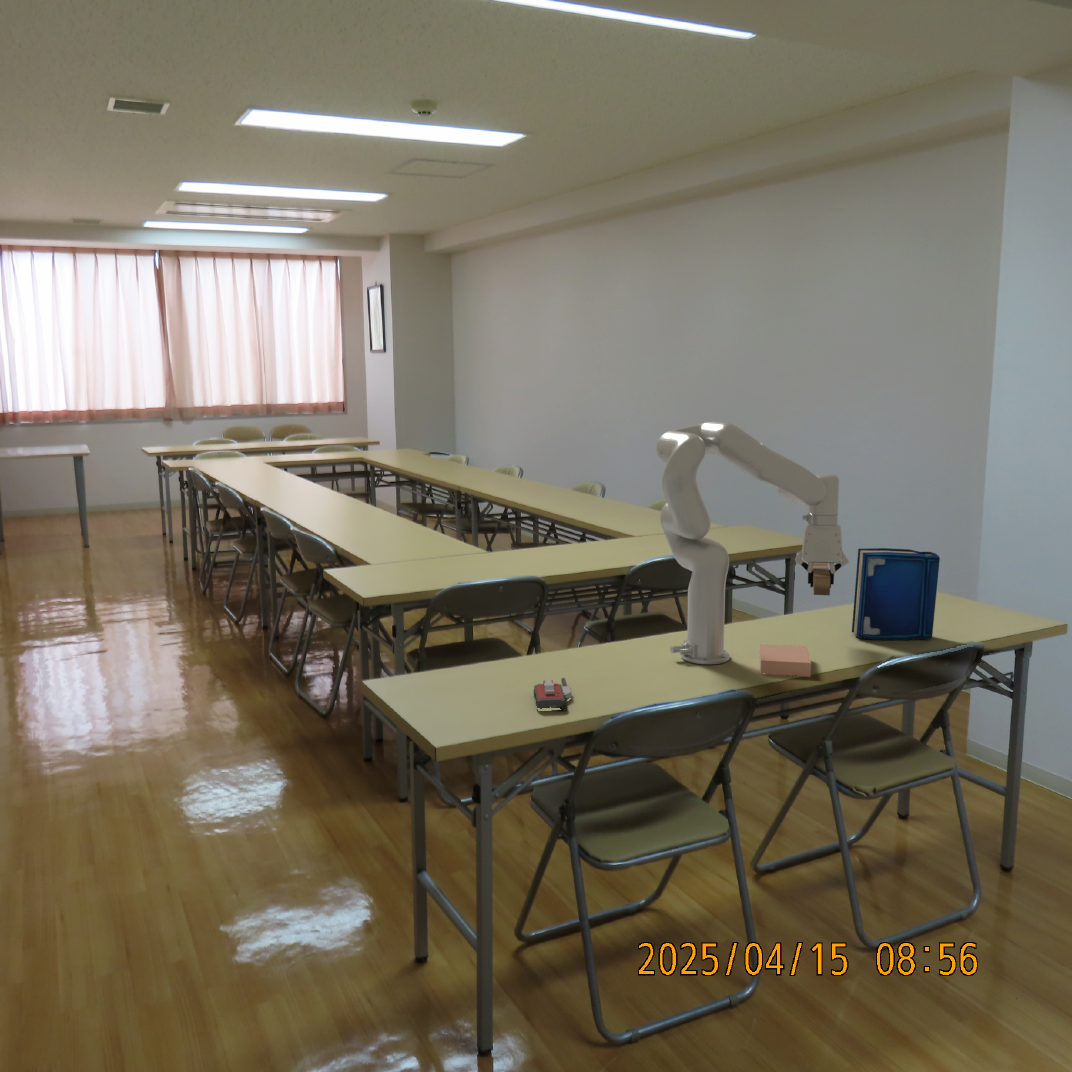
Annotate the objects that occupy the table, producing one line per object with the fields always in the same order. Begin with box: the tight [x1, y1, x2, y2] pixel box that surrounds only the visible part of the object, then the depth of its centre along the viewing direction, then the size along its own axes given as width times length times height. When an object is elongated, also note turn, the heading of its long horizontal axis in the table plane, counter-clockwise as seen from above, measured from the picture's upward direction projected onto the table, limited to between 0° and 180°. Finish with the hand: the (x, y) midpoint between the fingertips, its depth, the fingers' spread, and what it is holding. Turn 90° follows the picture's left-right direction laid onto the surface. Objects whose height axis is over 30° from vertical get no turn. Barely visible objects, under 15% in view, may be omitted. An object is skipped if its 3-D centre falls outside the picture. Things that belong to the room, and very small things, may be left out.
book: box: [851, 547, 941, 641], centre depth 257 cm, size 22×7×25 cm, turn 84°
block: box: [812, 563, 831, 596], centre depth 251 cm, size 18×4×5 cm, turn 165°
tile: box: [758, 643, 812, 678], centre depth 236 cm, size 4×12×14 cm
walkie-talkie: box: [533, 677, 572, 711], centre depth 216 cm, size 9×4×20 cm
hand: (820, 585), depth 251 cm, fingers closed on block, 4 cm apart
